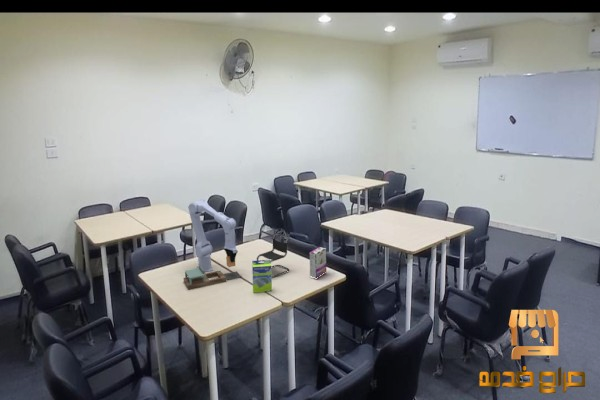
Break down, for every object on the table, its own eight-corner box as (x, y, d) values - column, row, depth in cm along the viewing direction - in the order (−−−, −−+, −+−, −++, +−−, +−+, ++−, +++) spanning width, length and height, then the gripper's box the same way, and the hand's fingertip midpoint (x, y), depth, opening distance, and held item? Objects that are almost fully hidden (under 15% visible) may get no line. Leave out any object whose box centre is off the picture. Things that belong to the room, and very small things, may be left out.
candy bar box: (319, 271, 241) (319, 246, 238) (326, 273, 238) (326, 248, 235) (309, 277, 233) (309, 251, 229) (316, 280, 230) (316, 253, 226)
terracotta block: (226, 265, 235) (226, 256, 234) (233, 263, 237) (232, 255, 236) (229, 267, 232) (228, 258, 231) (235, 265, 234) (235, 257, 233)
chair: (291, 271, 243) (291, 237, 238) (270, 279, 231) (269, 244, 226) (278, 265, 252) (277, 232, 247) (256, 273, 240) (255, 239, 235)
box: (253, 293, 214) (252, 263, 210) (252, 289, 218) (251, 260, 214) (272, 291, 216) (271, 262, 212) (271, 288, 220) (270, 259, 216)
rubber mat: (222, 274, 238) (222, 274, 238) (236, 271, 242) (236, 271, 242) (227, 280, 230) (227, 279, 230) (241, 277, 234) (241, 276, 234)
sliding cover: (185, 277, 229) (184, 267, 227) (200, 274, 233) (200, 264, 231) (189, 284, 219) (189, 274, 217) (205, 281, 223) (205, 271, 221)
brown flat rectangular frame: (183, 281, 229) (183, 277, 228) (220, 274, 239) (220, 270, 238) (188, 289, 219) (188, 285, 218) (226, 281, 229) (226, 277, 228)
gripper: (219, 236, 235) (220, 258, 238) (228, 243, 223) (229, 266, 226) (230, 234, 239) (231, 255, 242) (239, 241, 226) (240, 263, 229)
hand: (231, 260), depth 234 cm, fingers closed on terracotta block, 4 cm apart
